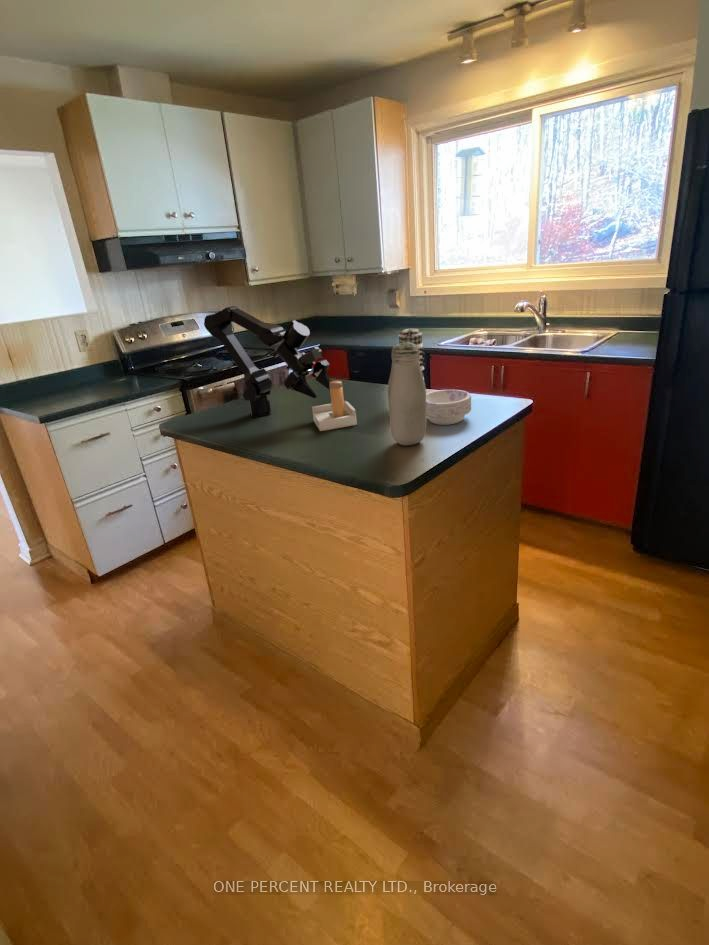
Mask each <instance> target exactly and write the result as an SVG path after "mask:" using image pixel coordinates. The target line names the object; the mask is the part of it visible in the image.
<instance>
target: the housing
mask: <svg viewBox="0 0 709 945" xmlns="http://www.w3.org/2000/svg"><path fill="white" fill-rule="evenodd" d="M344 407H345V416H343V417H337V418H333V411H332V403H326V404H321V405H314V406H311V409H312V411H311V412H312V417H313V423H314V424H315V426H316V427H317V428H318V430H319V432H322V431H329V430H334V429H339V428H345V427H351V426H356V425H358V421H357V410H356V409H355V408H354V406H352V404H351V403H349V401H347V400H344Z"/></svg>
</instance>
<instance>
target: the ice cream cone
mask: <svg viewBox="0 0 709 945" xmlns="http://www.w3.org/2000/svg"><path fill="white" fill-rule="evenodd" d="M329 386H330V390H329V392H330V400H331V401H330V404H332V411H333V418H337V417H343V416H345V407H344V401H345V399H344V389H343V388H344V387H343V381H342V380H332V381H330V382H329Z"/></svg>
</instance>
